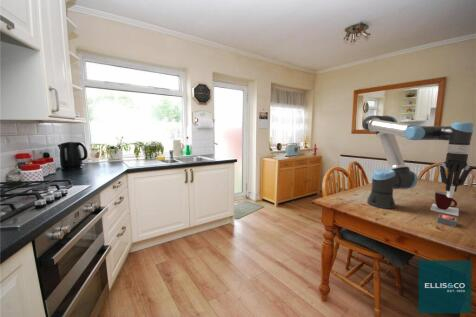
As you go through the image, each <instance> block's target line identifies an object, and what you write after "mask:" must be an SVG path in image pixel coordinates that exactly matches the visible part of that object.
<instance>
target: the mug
mask: <svg viewBox="0 0 476 317" xmlns="http://www.w3.org/2000/svg"><path fill="white" fill-rule="evenodd" d="M446 195H447V191H441V190H439V191H438V190H437V191H435V194H434V201H435V204H436V205H437V207H438V208H439V209H444V210H446V209H448V208H449V207H453V208H457V206H458V202H457V200H455V199H454V196H455V194H454V195H453V198H449V197H447V196H446ZM452 203H454V204H453V205H451V204H452Z"/></svg>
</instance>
